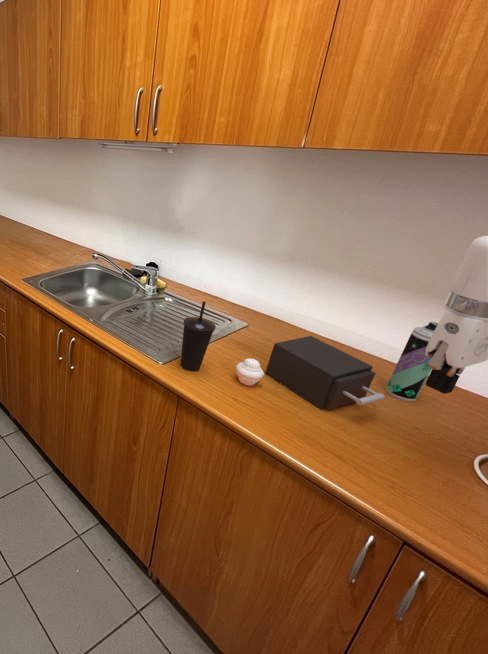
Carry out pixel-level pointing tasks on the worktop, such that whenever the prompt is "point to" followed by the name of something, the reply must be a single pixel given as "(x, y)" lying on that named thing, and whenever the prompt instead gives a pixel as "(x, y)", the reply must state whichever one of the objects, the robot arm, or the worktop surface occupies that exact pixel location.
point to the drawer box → (311, 367)
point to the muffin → (249, 371)
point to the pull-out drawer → (352, 390)
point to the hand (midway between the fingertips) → (438, 388)
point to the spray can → (412, 365)
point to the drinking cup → (195, 340)
